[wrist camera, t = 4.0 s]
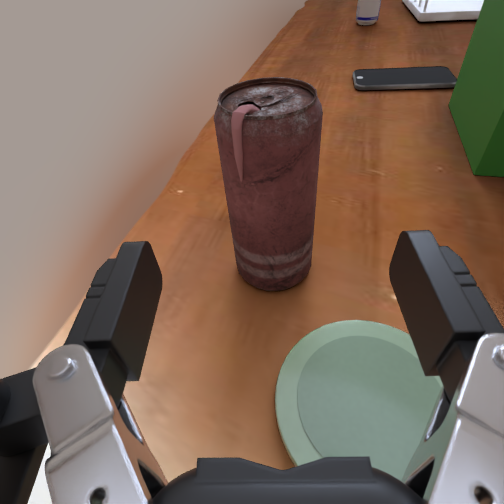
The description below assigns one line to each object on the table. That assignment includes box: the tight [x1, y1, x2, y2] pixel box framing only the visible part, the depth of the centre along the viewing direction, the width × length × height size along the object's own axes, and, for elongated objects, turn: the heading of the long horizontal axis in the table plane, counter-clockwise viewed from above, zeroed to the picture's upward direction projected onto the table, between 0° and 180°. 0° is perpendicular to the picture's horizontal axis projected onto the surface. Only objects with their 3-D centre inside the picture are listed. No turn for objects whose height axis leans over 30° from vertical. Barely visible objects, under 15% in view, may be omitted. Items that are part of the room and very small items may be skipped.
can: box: [214, 77, 323, 291], centre depth 23 cm, size 6×6×14 cm
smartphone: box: [353, 66, 457, 90], centre depth 54 cm, size 8×1×15 cm
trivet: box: [275, 320, 443, 481], centre depth 20 cm, size 11×11×1 cm
